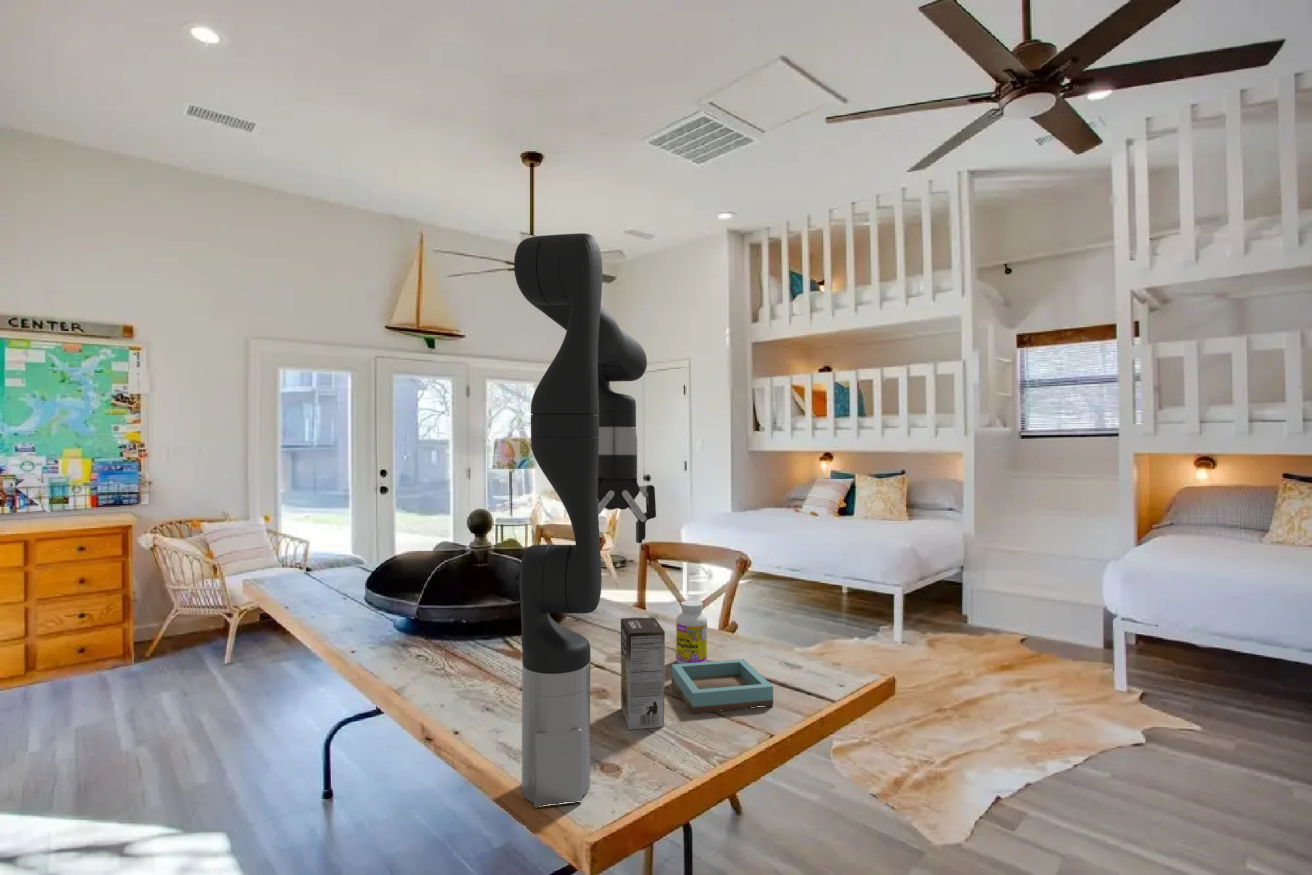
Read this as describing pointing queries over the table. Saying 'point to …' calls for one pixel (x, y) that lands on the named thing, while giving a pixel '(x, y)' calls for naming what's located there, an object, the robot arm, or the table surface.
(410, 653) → the table surface
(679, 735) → the table surface
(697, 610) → the supplement bottle
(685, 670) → the teal square tray
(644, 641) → the coffee box
